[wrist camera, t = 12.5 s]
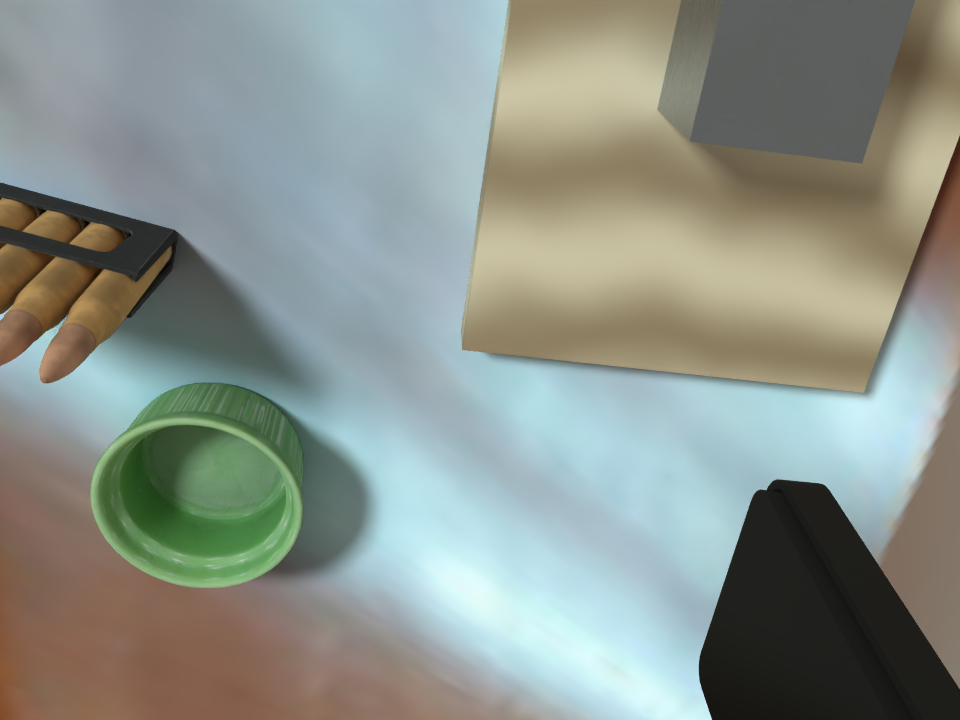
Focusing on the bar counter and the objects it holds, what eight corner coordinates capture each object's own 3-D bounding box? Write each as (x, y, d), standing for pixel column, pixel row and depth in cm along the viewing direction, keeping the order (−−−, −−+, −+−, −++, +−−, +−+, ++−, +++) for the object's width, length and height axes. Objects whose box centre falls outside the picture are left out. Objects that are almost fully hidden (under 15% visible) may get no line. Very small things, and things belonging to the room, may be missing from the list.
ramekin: (97, 380, 41) (61, 431, 37) (295, 358, 41) (280, 407, 37) (149, 538, 45) (122, 599, 42) (329, 519, 45) (319, 578, 41)
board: (845, 371, 43) (927, 468, 35) (461, 329, 41) (466, 422, 34) (1114, -378, 30) (1324, -461, 23) (578, -486, 28) (625, -612, 21)
